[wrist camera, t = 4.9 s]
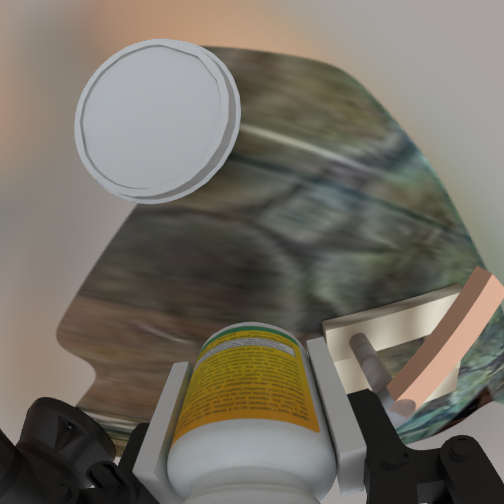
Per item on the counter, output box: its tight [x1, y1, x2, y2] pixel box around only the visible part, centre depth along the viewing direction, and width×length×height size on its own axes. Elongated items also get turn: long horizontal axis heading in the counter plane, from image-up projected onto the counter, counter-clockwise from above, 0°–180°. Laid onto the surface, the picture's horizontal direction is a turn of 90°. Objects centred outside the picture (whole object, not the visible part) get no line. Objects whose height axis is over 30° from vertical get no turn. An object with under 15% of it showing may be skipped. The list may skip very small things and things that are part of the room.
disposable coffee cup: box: [74, 39, 241, 204], centre depth 19 cm, size 10×10×12 cm
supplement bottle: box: [167, 322, 337, 504], centre depth 10 cm, size 5×5×10 cm
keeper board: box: [322, 284, 463, 404], centre depth 25 cm, size 16×14×10 cm
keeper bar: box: [377, 266, 504, 427], centre depth 17 cm, size 12×3×2 cm, turn 147°
